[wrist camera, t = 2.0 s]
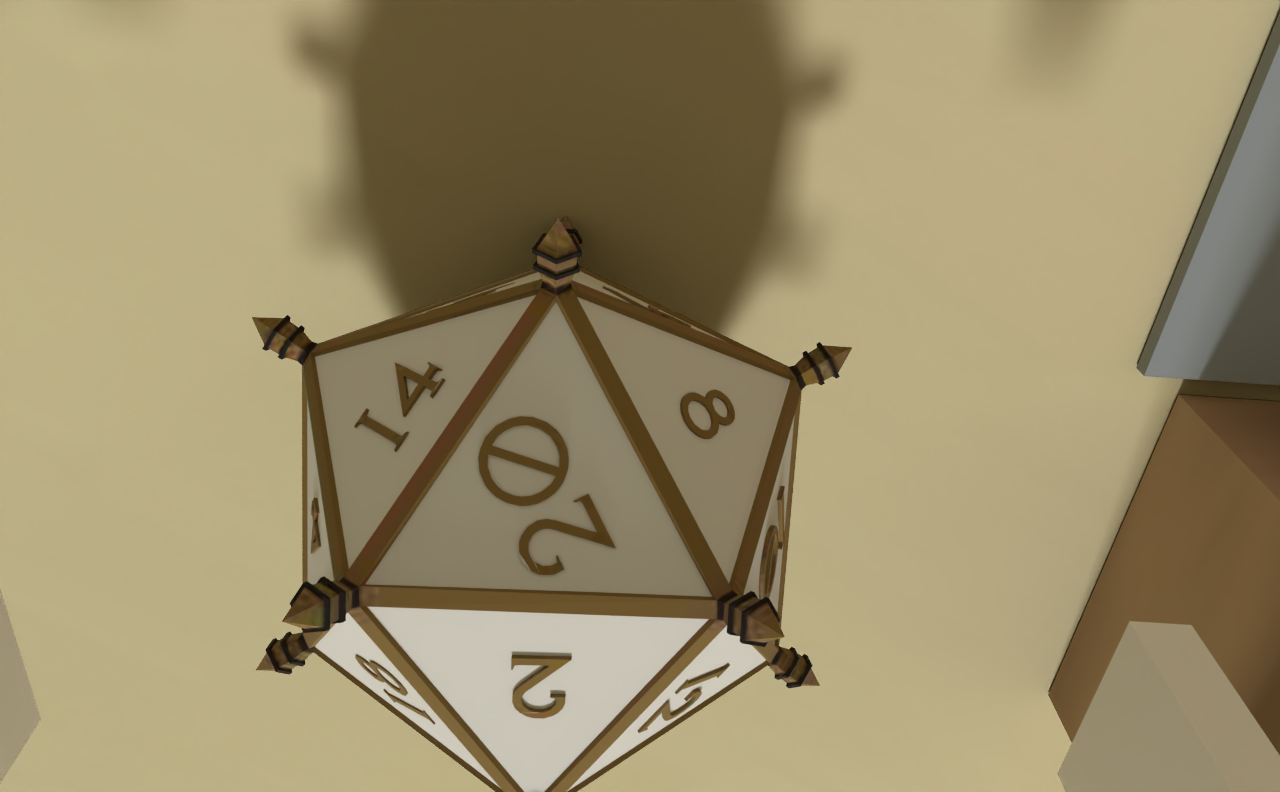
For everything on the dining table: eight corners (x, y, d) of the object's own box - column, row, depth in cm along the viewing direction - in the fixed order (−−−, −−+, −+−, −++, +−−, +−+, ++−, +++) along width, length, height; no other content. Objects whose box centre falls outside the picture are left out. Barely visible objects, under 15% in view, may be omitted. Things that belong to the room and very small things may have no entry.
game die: (472, 273, 21) (-35, 291, 12) (860, 153, 17) (510, 53, 8) (565, 685, 21) (133, 989, 13) (972, 669, 17) (746, 1106, 8)
